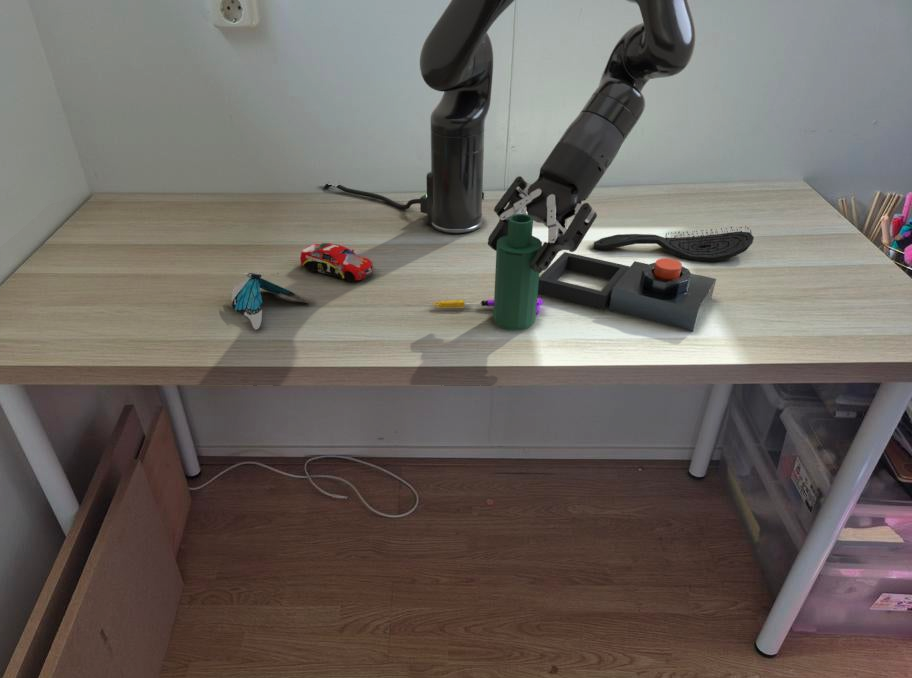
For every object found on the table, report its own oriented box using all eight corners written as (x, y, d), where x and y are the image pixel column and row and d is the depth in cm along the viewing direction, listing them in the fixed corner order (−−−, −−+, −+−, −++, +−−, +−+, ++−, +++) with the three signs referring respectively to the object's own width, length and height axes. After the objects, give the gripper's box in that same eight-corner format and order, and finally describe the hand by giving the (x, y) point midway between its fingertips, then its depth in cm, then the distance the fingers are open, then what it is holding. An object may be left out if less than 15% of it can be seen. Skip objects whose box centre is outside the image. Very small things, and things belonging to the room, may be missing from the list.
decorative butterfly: (262, 260, 112) (300, 263, 105) (274, 298, 115) (311, 303, 108) (209, 283, 106) (245, 288, 99) (223, 322, 109) (258, 330, 102)
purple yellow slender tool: (542, 302, 105) (434, 304, 106) (542, 296, 104) (434, 298, 105) (543, 314, 103) (434, 316, 104) (544, 309, 102) (434, 311, 103)
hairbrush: (593, 222, 122) (748, 219, 117) (591, 242, 124) (743, 240, 119) (596, 243, 115) (760, 241, 111) (594, 263, 117) (755, 262, 113)
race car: (380, 273, 116) (379, 250, 113) (361, 287, 112) (359, 264, 110) (317, 255, 122) (314, 234, 119) (297, 268, 118) (294, 246, 116)
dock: (535, 293, 108) (536, 279, 107) (562, 265, 115) (564, 251, 114) (603, 311, 103) (606, 295, 102) (627, 280, 110) (630, 266, 109)
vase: (486, 323, 101) (490, 222, 92) (504, 305, 105) (510, 206, 96) (524, 334, 99) (532, 231, 90) (541, 315, 103) (551, 214, 94)
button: (650, 277, 100) (652, 265, 99) (657, 266, 103) (659, 256, 102) (675, 282, 99) (678, 271, 98) (682, 272, 101) (685, 261, 100)
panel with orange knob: (608, 310, 103) (613, 277, 100) (630, 282, 110) (636, 250, 106) (692, 332, 98) (701, 297, 94) (710, 301, 104) (719, 267, 101)
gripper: (531, 128, 96) (464, 229, 98) (612, 154, 87) (536, 265, 88) (555, 158, 102) (492, 253, 104) (634, 186, 92) (562, 289, 94)
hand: (512, 258), depth 96 cm, fingers open, 8 cm apart
